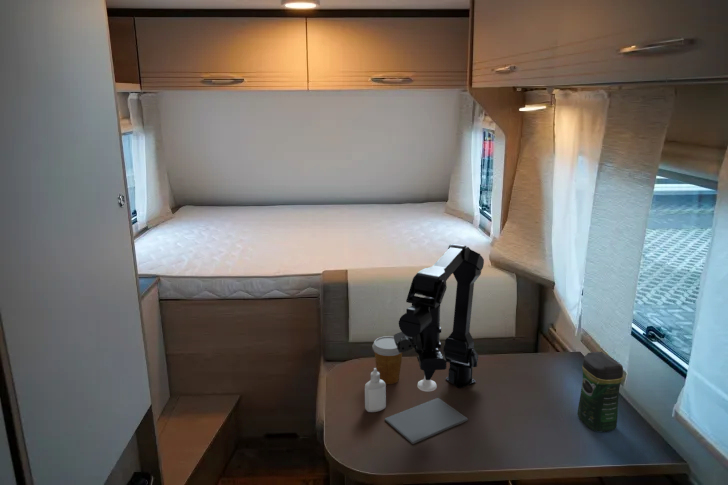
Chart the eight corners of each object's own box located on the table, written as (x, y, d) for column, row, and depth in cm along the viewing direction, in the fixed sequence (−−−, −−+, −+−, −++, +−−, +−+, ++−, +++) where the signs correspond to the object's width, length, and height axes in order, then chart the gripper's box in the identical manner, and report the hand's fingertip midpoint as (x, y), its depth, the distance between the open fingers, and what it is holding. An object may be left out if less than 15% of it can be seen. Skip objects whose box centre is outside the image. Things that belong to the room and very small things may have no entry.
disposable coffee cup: (384, 368, 169) (383, 332, 166) (410, 376, 164) (410, 340, 160) (366, 381, 162) (365, 344, 158) (393, 390, 156) (393, 352, 153)
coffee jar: (622, 431, 136) (630, 365, 131) (593, 435, 135) (601, 368, 130) (599, 410, 145) (606, 347, 140) (572, 413, 144) (578, 350, 139)
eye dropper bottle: (385, 413, 145) (385, 373, 142) (364, 412, 146) (363, 372, 143) (386, 404, 149) (386, 365, 146) (365, 403, 150) (365, 364, 147)
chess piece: (413, 387, 139) (413, 351, 137) (425, 379, 143) (425, 345, 140) (429, 393, 136) (429, 357, 133) (440, 386, 139) (441, 350, 137)
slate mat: (437, 399, 151) (438, 397, 151) (467, 420, 142) (467, 418, 141) (384, 420, 142) (384, 418, 142) (412, 444, 132) (412, 441, 132)
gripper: (392, 308, 143) (392, 361, 147) (399, 339, 125) (399, 398, 129) (434, 306, 143) (433, 359, 148) (447, 337, 126) (445, 397, 130)
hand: (427, 377), depth 139 cm, fingers closed on chess piece
